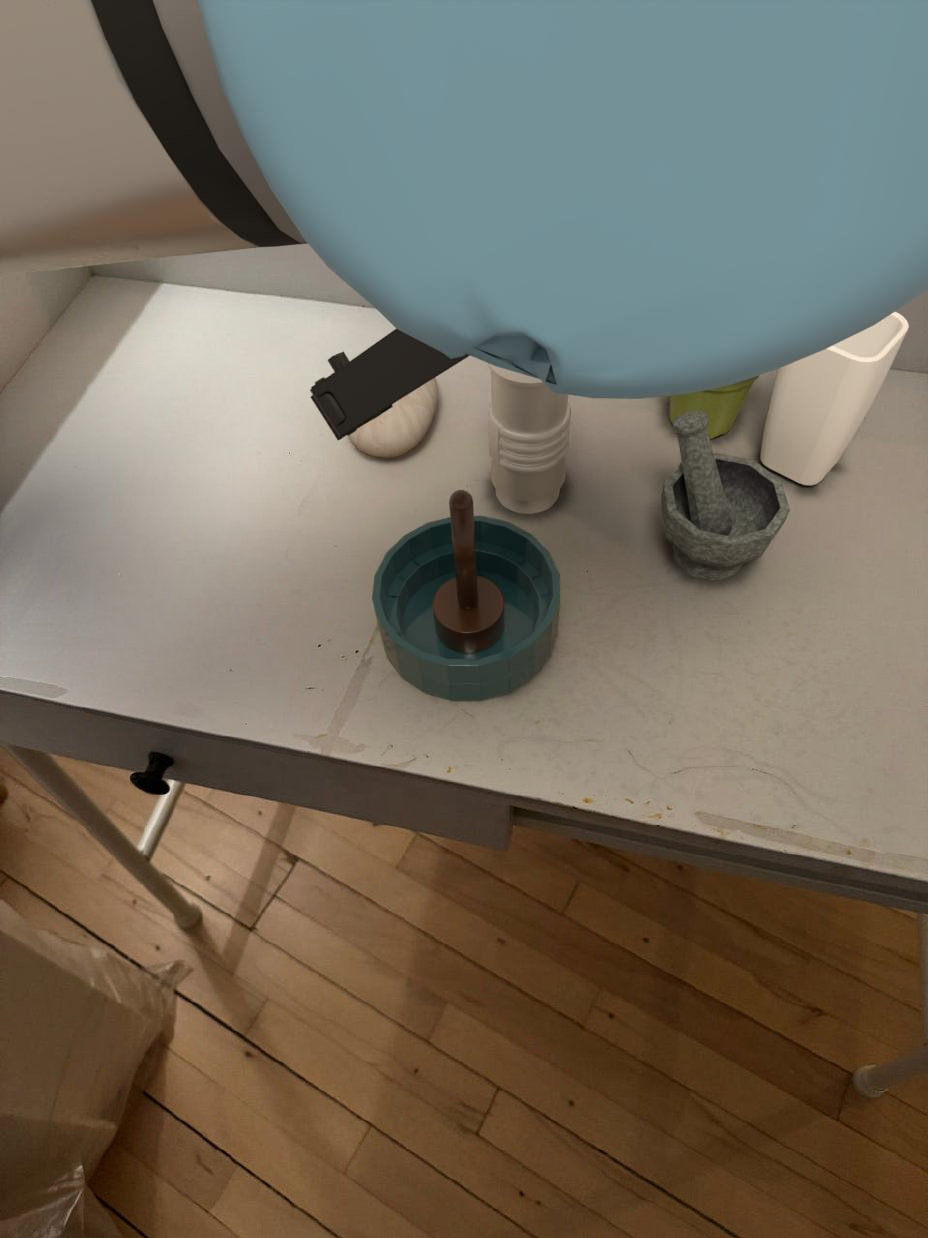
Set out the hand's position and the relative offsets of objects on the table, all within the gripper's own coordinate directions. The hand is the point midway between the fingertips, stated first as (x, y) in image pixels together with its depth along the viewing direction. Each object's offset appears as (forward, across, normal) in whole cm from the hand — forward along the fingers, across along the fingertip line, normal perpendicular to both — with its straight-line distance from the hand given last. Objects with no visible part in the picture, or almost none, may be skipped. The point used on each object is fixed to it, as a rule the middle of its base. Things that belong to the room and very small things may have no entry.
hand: (422, 358), depth 48 cm
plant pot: (+18, +33, -18) cm, 42 cm away
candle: (+22, +15, -14) cm, 30 cm away
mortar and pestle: (+11, +20, -25) cm, 34 cm away
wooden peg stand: (+16, 0, -19) cm, 25 cm away
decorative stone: (+33, +12, -3) cm, 35 cm away
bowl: (+16, 0, -20) cm, 26 cm away
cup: (+11, +35, -25) cm, 44 cm away
